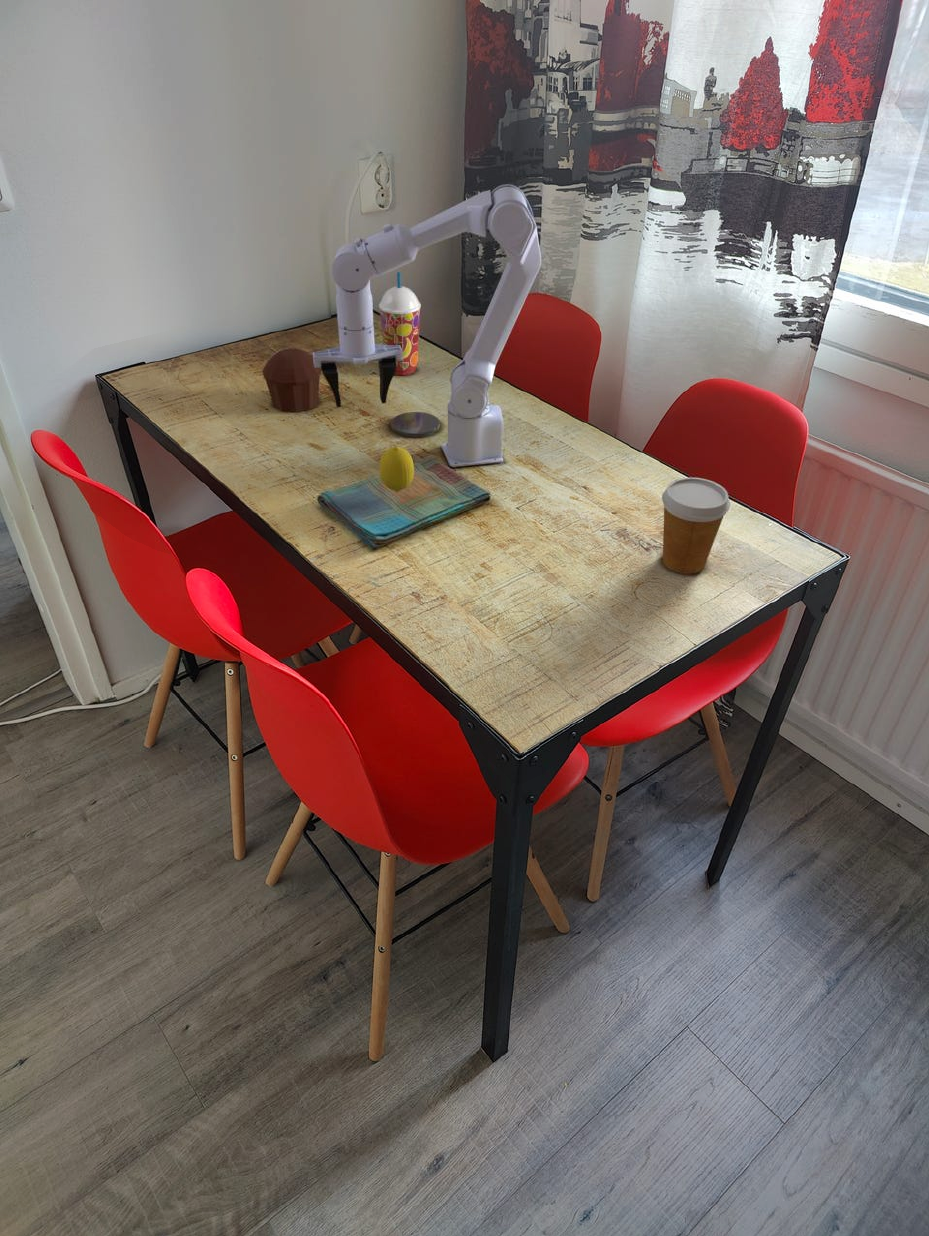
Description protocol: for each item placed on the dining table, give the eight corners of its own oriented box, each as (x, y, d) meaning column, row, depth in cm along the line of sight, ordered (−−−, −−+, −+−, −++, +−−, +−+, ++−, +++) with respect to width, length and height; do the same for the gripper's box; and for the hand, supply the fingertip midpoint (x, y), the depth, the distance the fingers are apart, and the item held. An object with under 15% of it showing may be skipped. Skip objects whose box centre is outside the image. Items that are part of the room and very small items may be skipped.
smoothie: (377, 364, 191) (373, 267, 178) (415, 360, 193) (413, 264, 180) (387, 380, 184) (382, 281, 172) (426, 375, 186) (425, 277, 174)
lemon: (414, 500, 143) (413, 455, 138) (379, 500, 143) (377, 455, 138) (415, 482, 147) (413, 438, 142) (381, 482, 147) (378, 438, 142)
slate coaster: (434, 413, 173) (434, 409, 172) (444, 434, 166) (444, 431, 165) (387, 417, 171) (387, 414, 171) (395, 439, 164) (395, 435, 164)
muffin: (314, 417, 171) (309, 367, 164) (258, 412, 172) (251, 362, 166) (331, 391, 180) (327, 342, 174) (278, 387, 181) (272, 338, 175)
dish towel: (314, 505, 146) (313, 491, 145) (430, 462, 158) (430, 449, 156) (374, 552, 136) (373, 538, 134) (492, 503, 147) (493, 489, 146)
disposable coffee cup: (671, 537, 140) (683, 469, 132) (727, 560, 135) (743, 490, 128) (639, 564, 134) (650, 494, 127) (696, 588, 129) (712, 517, 122)
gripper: (313, 336, 141) (320, 416, 149) (404, 330, 143) (406, 409, 152) (308, 320, 146) (316, 398, 154) (396, 314, 149) (399, 391, 157)
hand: (360, 402), depth 153 cm, fingers open, 7 cm apart
